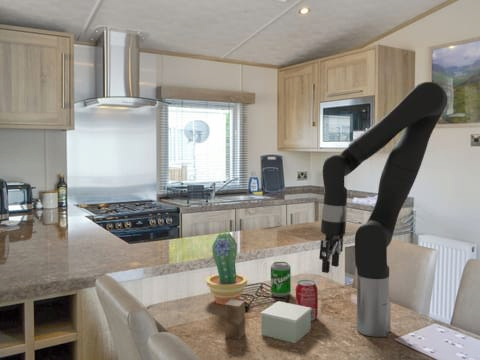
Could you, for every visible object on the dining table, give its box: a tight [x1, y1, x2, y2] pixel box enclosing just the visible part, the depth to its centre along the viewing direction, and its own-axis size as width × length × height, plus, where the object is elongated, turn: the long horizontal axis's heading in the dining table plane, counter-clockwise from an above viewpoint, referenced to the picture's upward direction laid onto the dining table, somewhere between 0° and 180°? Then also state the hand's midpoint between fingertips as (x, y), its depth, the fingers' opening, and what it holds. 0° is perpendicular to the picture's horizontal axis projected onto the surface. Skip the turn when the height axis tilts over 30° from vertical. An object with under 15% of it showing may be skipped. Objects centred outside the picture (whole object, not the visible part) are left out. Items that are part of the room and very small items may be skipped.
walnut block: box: [224, 299, 246, 341], centre depth 127 cm, size 4×4×10 cm
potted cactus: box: [205, 232, 248, 306], centre depth 157 cm, size 15×15×25 cm
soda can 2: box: [295, 279, 319, 322], centre depth 140 cm, size 7×7×12 cm
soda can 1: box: [270, 261, 292, 298], centre depth 164 cm, size 8×8×12 cm
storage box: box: [260, 300, 312, 344], centre depth 130 cm, size 11×11×7 cm
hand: (330, 269), depth 136 cm, fingers open, 8 cm apart
